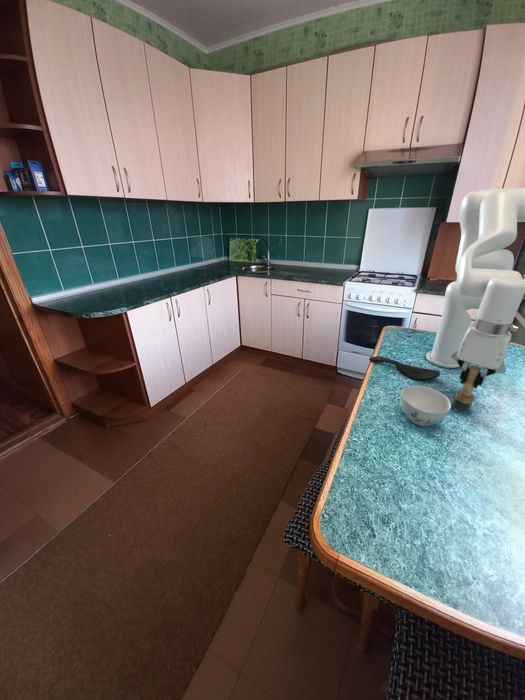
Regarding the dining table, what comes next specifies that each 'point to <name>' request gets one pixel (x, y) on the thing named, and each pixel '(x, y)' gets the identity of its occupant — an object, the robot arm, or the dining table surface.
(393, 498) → the dining table surface
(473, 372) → the dish brush
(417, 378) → the hairbrush
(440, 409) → the teacup
